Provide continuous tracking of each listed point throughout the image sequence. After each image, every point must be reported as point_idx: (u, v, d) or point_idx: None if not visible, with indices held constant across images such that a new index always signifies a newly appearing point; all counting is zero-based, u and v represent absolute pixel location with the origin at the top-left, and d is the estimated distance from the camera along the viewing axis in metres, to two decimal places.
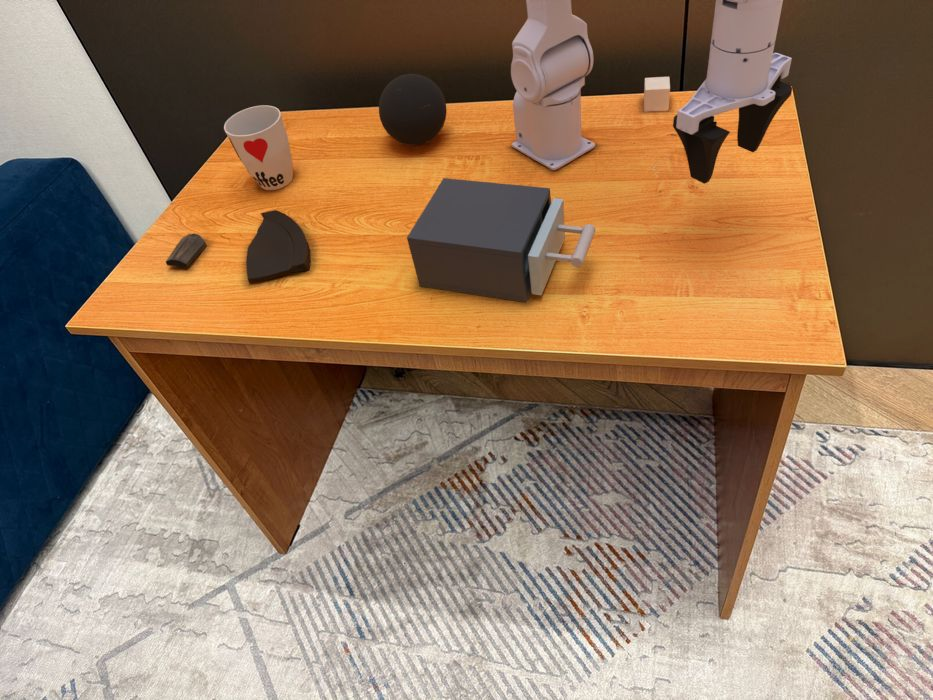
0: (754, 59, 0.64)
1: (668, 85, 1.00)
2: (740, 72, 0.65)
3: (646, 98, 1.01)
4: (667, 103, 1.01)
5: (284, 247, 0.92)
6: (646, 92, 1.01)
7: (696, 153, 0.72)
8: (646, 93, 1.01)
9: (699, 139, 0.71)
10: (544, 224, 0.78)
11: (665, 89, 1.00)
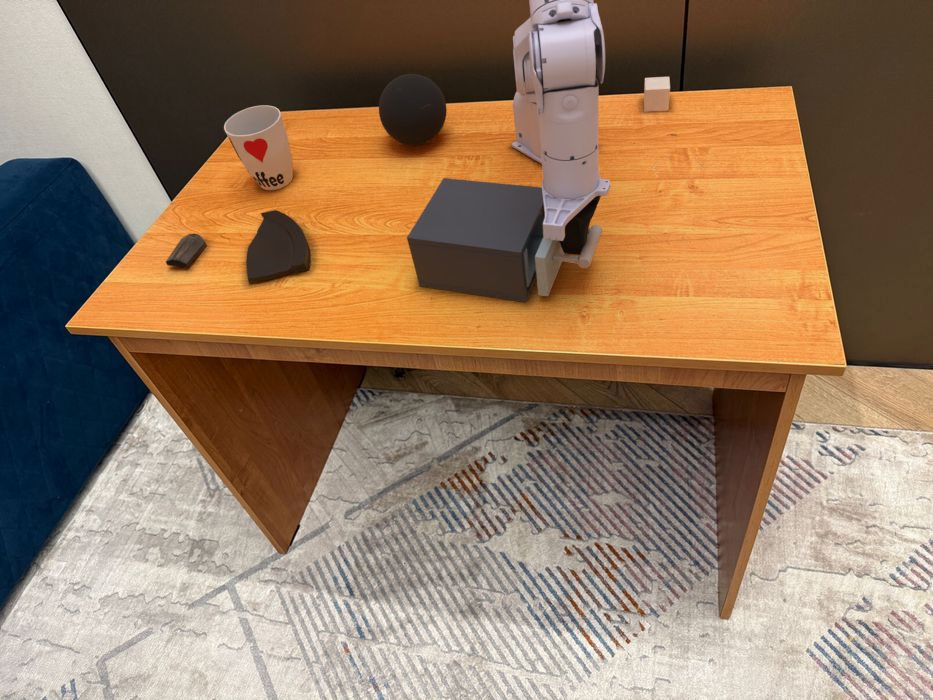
0: (591, 160, 0.68)
1: (668, 85, 1.00)
2: (582, 174, 0.69)
3: (646, 98, 1.01)
4: (667, 103, 1.01)
5: (284, 247, 0.92)
6: (646, 92, 1.01)
7: (567, 232, 0.76)
8: (646, 93, 1.01)
9: None
10: None
11: (665, 89, 1.00)
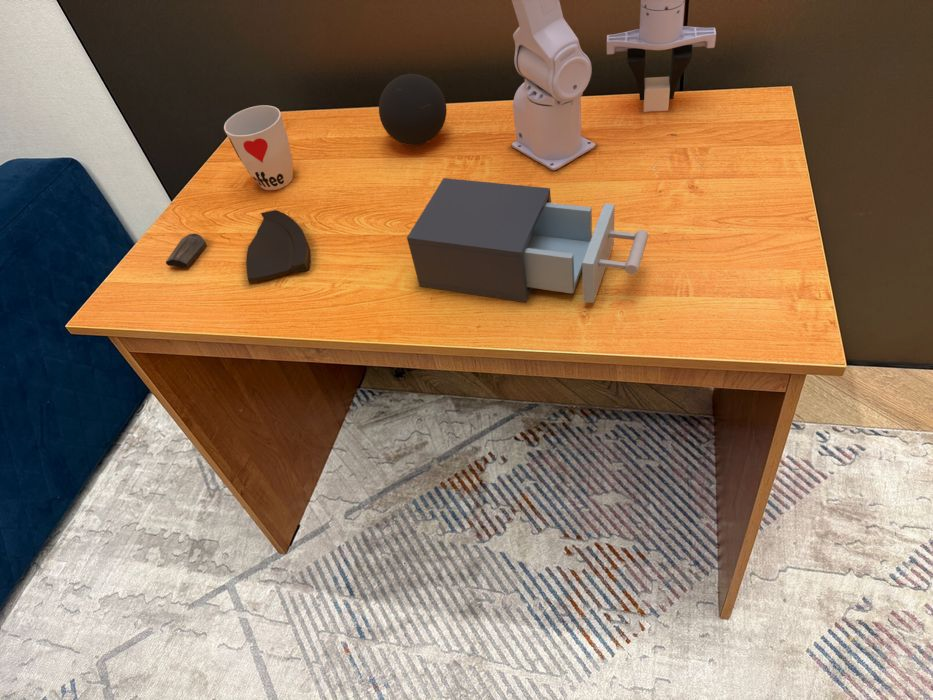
0: None
1: (668, 85, 1.00)
2: None
3: (646, 98, 1.01)
4: (667, 103, 1.01)
5: (285, 247, 0.92)
6: (646, 92, 1.01)
7: None
8: (646, 93, 1.01)
9: None
10: (597, 230, 0.76)
11: (665, 89, 1.00)
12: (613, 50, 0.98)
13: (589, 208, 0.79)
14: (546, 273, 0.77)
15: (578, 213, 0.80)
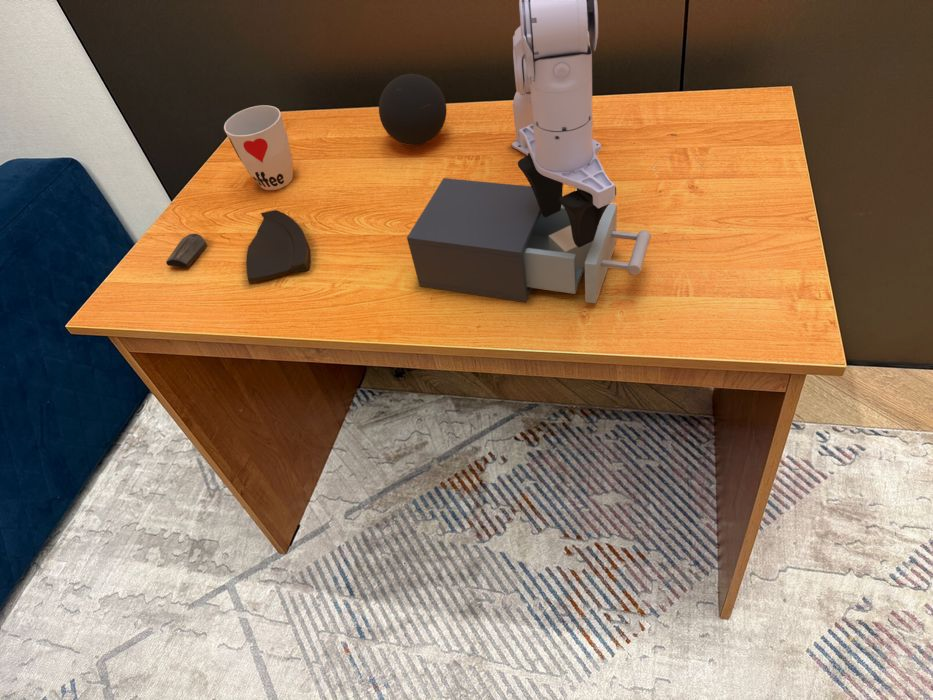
0: None
1: (571, 247, 0.77)
2: (591, 135, 0.67)
3: (550, 246, 0.80)
4: None
5: (285, 247, 0.92)
6: (549, 239, 0.79)
7: (583, 222, 0.72)
8: (549, 240, 0.79)
9: (584, 208, 0.71)
10: (599, 230, 0.76)
11: (562, 249, 0.77)
12: (524, 144, 0.75)
13: None
14: (548, 273, 0.77)
15: None
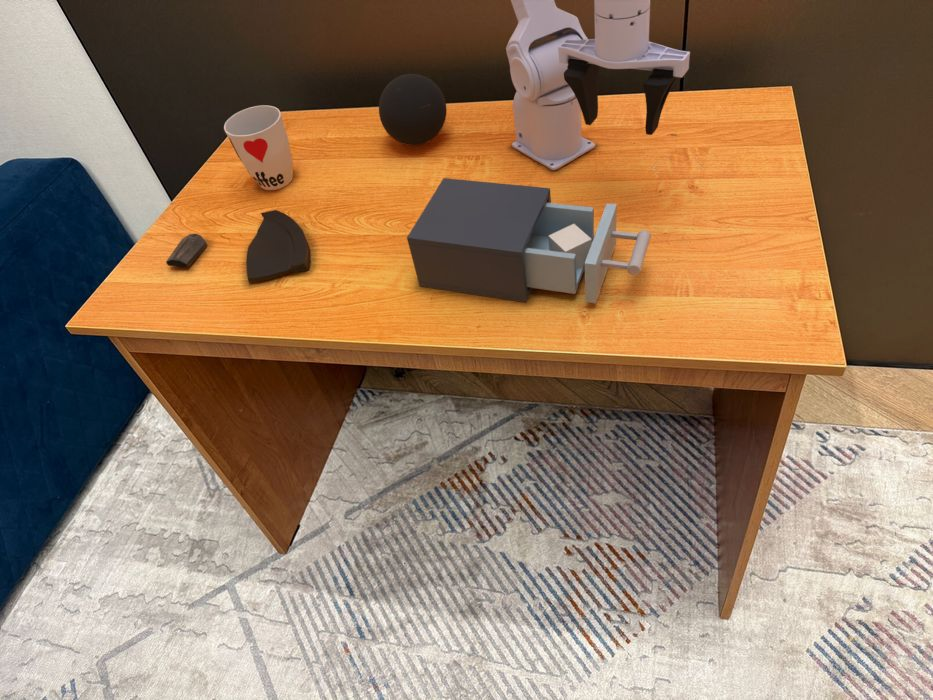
0: None
1: (571, 247, 0.77)
2: None
3: (550, 246, 0.80)
4: None
5: (285, 247, 0.92)
6: (549, 239, 0.79)
7: None
8: (549, 240, 0.79)
9: None
10: (599, 230, 0.76)
11: (562, 249, 0.77)
12: (566, 59, 0.79)
13: (591, 208, 0.79)
14: (548, 273, 0.77)
15: (580, 213, 0.80)
